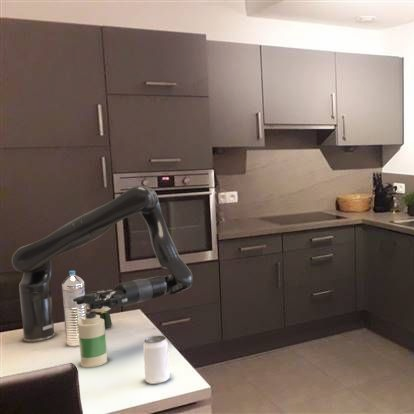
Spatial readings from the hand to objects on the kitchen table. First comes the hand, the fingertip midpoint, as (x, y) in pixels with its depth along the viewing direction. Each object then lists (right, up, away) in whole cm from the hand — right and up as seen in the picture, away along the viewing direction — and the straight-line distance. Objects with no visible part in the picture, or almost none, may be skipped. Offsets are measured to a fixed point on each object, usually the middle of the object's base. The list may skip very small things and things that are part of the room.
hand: (83, 303), depth 164 cm
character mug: (-12, -15, +36) cm, 41 cm away
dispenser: (+1, -19, +4) cm, 19 cm away
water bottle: (-13, -17, +21) cm, 30 cm away
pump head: (0, -2, 0) cm, 2 cm away
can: (+26, -20, -9) cm, 34 cm away
